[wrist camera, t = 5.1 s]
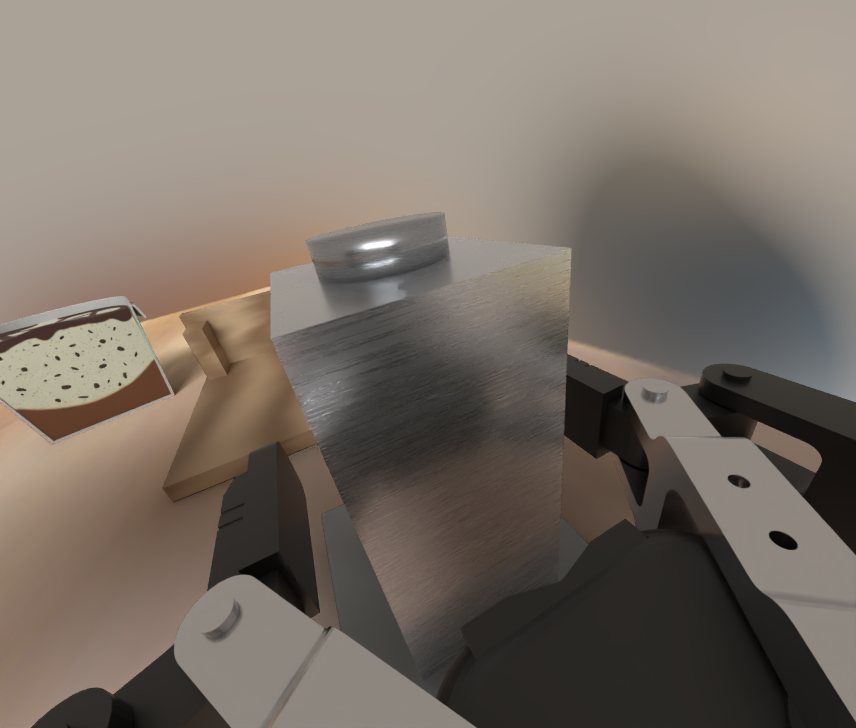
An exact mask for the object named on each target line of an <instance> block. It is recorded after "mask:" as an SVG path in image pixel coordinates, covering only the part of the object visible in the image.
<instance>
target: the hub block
mask: <svg viewBox="0 0 856 728" xmlns="http://www.w3.org/2000/svg"><path fill="white" fill-rule="evenodd" d="M306 244H307V246H308V249H309V252H310V255H311V258H312V261H313V263H309V264H305V265H301V266H297V267H293V268H288V269H284V270H280V271H276V272H272V273H271V274H270V275H271V341H272V343H273V345H274V347H275V350H276V352H277V354H278V356H279V359H280V361H281V363H282V365H283V368H284V370H285V372H286V374H287V376H288V379H289V381H290V383H291V385H292V388H293V390H294V392H295V394H296V397H297V399H298V401H299V403H300V406H301V408H302V410H303V412H304V415H305V417H306V419H307V421H308V424H309V426H310V428H311V430H312V432H313V435H314V437H315V439H316V441H317V444H318V446H319V448H320V450H321V453H322V455H323V457H324V459H325V462H326V464H327V466H328V468H329V471H330V473H331V475H332V477H333V480H334V482H335V484H336V486H337V489H338V491H339V493H340V495H341V497H342V500H343V502H344V504H345V506H346V509H347V511H348V513H349V515H350V518H351V520H352V522H353V524H354V527H355V529H356V531H357V533H358V536H359V538H360V540H361V542H362V545H363V547H364V549H365V551H366V553H367V556H368V558H369V560H370V562H371V565H372V567H373V569H374V571H375V574H376V576H377V578H378V580H379V583H380V585H381V587H382V589H383V592H384V594H385V596H386V598H387V601H388V603H389V605H390V607H391V610H392V612H393V614H394V616H395V618H396V621H397V623H398V625H399V627H400V630H401V632H402V634H403V636H404V639H405V641H406V643H407V645H408V648H409V650H410V652H411V654H412V657H413V659H414V661H415V663H416V666H417V668H418V670H419V672H420V674H421V677H422V679H423V680H425V679H426V678H428V677H429V676H431V675H432V674H434V673H435V672H436V671H438V670H439V669H441V668H442V667H444V666H445V665H447V664H448V663H450V662H451V661H452V660H454V659H455V657H456V656H457V654H458V653H459V652H460V651H461V649H462V648H463V647H464V645H465V643H464V639H463V635H462V632H461V628H460V627H462V626H463V625H465V624H466V623H468V622H469V621H471V620H472V619H474V618H475V617H477V616H478V615H480V614H481V613H483V612H484V611H486V610H487V609H489V608H491V607H492V606H494V605H495V604H497V603H498V602H500V601H501V600H503V599H504V598H506V597H508V596H511V595H515V594H518V593H522V592H525V591H529V590H532V589H536V588H539V587H543V586H547V585H550V584H554V583H557V582H558V571H559V546H560V520H561V495H562V470H563V445H564V420H565V395H566V370H567V345H568V319H569V318H568V317H569V294H570V268H571V248H565V247H554V246H543V245H534V244H523V243H513V242H502V241H493V240H482V239H472V238H462V237H451V236H447V229H446V222H445V214H444V213H443V212H433V213H424V214H416V215H410V216H403V217H397V218H392V219H386V220H381V221H376V222H372V223H366V224H362V225H357V226H353V227H349V228H345V229H340V230H336V231H332V232H329V233H325V234H322V235H318V236H315V237H312V238H310V239H308V240H306Z"/></svg>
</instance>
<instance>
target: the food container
mask: <svg viewBox="0 0 856 728" xmlns="http://www.w3.org/2000/svg"><path fill="white" fill-rule="evenodd" d="M137 316H143V317H144V318H146V315H145V314H144V313H143V312H142V311H141V310H140V309H139V308H138V307H137V306H136V305H135V304H134V303H133V302H129V301H128V299H127V298H126V297H124V296H121V297H120V296H119V297H111V298H105V299H99V300H95V301H89V302H85V303H81V304H76V305H72V306H67V307H64V308H59V309H56V310H51V311H48V312H44V313H40V314H36V315H33V316H29V317H25V318H21V319H18V320H14V321H11V322H8V323H4V324H1V325H0V403H1V404H2V405H3V406H5V407H6V408H7V409H8V410H10V411H11V412H12V413H13V414H15V415H16V416H17V417H18V418H20V419H21V420H22V421H23V422H25V423H26V424H27V425H28V426H30V427H31V428H32V429H33V430H35V431H36V432H37V433H38V434H40V435H41V436H42V437H43V438H45V439H46V440H47V441H48V442H50V443H51V444H52V445H53V444H56V443H58V442H60V441H63V440H65V439H68V438H70V437H73V436H75V435H78V434H80V433H83V432H85V431H88V430H90V429H93V428H95V427H98V426H100V425H103V424H105V423H108V422H110V421H113V420H115V419H117V418H120V417H122V416H125V415H127V414H130V413H132V412H135V411H137V410H140V409H142V408H145V407H147V406H150V405H152V404H155V403H157V402H160V401H162V400H165V399H167V398H170V397H172V396H175V394H174V392H173V390H172V388H171V386H170V384H169V382H168V380H167V378H166V375H165V373H164V371H163V369H162V367H161V365H160V363H159V361H158V359H157V357H156V355H155V353H154V351H153V349H152V347H151V345H150V343H149V341H148V339H147V337H146V334H145V332H144V330H143V328H142V326H141V324H140V322H139V320H138V319H137Z"/></svg>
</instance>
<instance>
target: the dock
mask: <svg viewBox="0 0 856 728" xmlns="http://www.w3.org/2000/svg"><path fill="white" fill-rule="evenodd" d="M179 317H180V319H181V321H182V322H183V324H184V326H185V328H186V330H185V331H184V332H183V336H184V338H185V340H186V341H187V343H188V345H189V346H190V348H191V350H192V352H193V353H194V355H195V357H196V358H197V360H198V362H199V363H200V365H201V367H202V369H203V370H204V372H205V374H206V375H207V378H206V381H205V383H204V386H203V388H202V391H201V393H200V396H199V398H198V401H197V403H196V406H195V408H194V411H193V413H192V416H191V418H190V421H189V423H188V426H187V428H186V431H185V433H184V436H183V438H182V441H181V443H180V446H179V448H178V451H177V453H176V456H175V458H174V461H173V463H172V466H171V468H170V471H169V473H168V476H167V478H166V481H165V483H164V486H163V490H164V491H165V492H166V493H167V494H168V496H169V497H170V498H171V499H172V500H173V502H174V501H177V500H179V499H182V498H184V497H187V496H189V495H192V494H194V493H196V492H199V491H201V490H204V489H206V488H209V487H211V486H214V485H216V484H219V483H221V482H223V481H226V480H228V479H231V478H233V477H236V476H238V475H241V474H243V473H246V472H247V470H248V459H249V453H250V452H252V451H254V450H257V449H259V448H262V447H264V446H267V445H270V444H272V443H275V442H277V441H278V442H280V444H281V445H282V447H283V449H284V450H285V452H286V454H287V455H290V454H292V453H295V452H297V451H300V450H302V449H304V448H307V447H309V446H312V445H314V444H317V441H316V439H315V437H314V435H313V432H312V430H311V428H310V426H309V424H308V421H307V419H306V417H305V415H304V412H303V410H302V408H301V406H300V403H299V401H298V399H297V397H296V394H295V392H294V390H293V388H292V385H291V383H290V381H289V379H288V376H287V374H286V372H285V370H284V368H283V365H282V363H281V361H280V359H279V356H278V354H277V352H276V350H275V347H274V345H273V343H272V341H271V291H267V292H263V293H259V294H256V295H252V296H248V297H244V298H240V299H236V300H232V301H229V302H225V303H221V304H217V305H213V306H209V307H205V308H202V309H198V310H194V311H190V312H186V313H182V314H181V315H180V316H179Z"/></svg>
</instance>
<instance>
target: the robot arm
mask: <svg viewBox="0 0 856 728" xmlns="http://www.w3.org/2000/svg"><path fill="white" fill-rule="evenodd" d="M758 421H759V422H761V423H763V424H766V425H768V426H770V427H772V428H775V429H777V430H779V431H781V432H784V433H786V434H788V435H791V436H793V437H795V438H797V439H800V440H802V441H804V442H806V443H808V444H810V445H811V446H813V447H814V448H815V449H816V450H817V451H818V452H819V453H820V455H821V457H822V463H821V465H820V467H819V469H818V471H817V472H816V473H814V472H812V471H810V470H808V469H806V468H804V467H802V466H800V465H798V464H796V463H794V462H792V461H790V460H787V459H785V458H783V457H781V456H779V455H777V454H775V453H773V452H771V451H769V450H767V449H765V448H763V447H761V446H759V445H757V444H755V443H753V442H752V441H750V439H751V437H752V434H753V432H754V429H755V427H756V425H757V422H758ZM564 435H565V436H566V437H568V438H569V439H570V440H572V441H573V442H574V443H576V444H577V445H578V446H580V447H581V448H582V449H584V450H585V451H587V452H588V453H589V454H591V455H592V456H593V457H595V458H596V459H597V458H599V457H601V456H603V455H604V454H606V453H608V452H610V451H611V452H613V453H614V454H615V458H614V463H615V466H616V469H617V472H618V474H619V477H620V480H621V482H622V485H623V488H624V491H625V493H626V496H627V499H628V501H629V504H630V507H631V509H632V512H633V515H634V519H635V524H636V527H635V526H633V525H632V524H631V523H630V522H629V521H628V520H626V519H624V520H623V521H621V522H620V523H618V524H617V525H615V526H614V527H612V528H611V529H609V530H608V531H606V532H605V533H603V534H602V535H600V536H599V537H597V538H596V539H594V540H592V541H591V542H590V543H589V544H588V546H587V547H586V549H585V550H584V551H583V553H582V554H581V555H580V557H579V558H578V559H577V561H576V562H575V563H574V565H573V566H572V567H571V569H570V570H569V572H568V573H567V574H566V576H565V577H564V578H563V579H562V580H561V581H559V582H557V583H554V584H550V585H547V586H543V587H539V588H536V589H532V590H529V591H525V592H522V593H518V594H515V595H511V596H508V597H506V598H504V599H503V600H501V601H500V602H498V603H497V604H495V605H494V606H492V607H491V608H489V609H487V610H486V611H484V612H483V613H481V614H480V615H478V616H477V617H475V618H474V619H472V620H471V621H469V622H468V623H466V624H465V625H463V626H462V627H460V628H461V632H462V635H463V639H464V643H465V645H464V647H463V648H462V649H461V651H460V652H459V653H458V654H457V656H456V657H455V659H454V660H453V662H452V664H451V665H450V667H449V669H448V670H447V672H446V674H445V676H444V679H443V681H442V683H441V685H440V687H439V690H438V693H437V696H436V698H434V697H433V696H431V695H430V694H429V693H427V692H426V691H424V690H423V689H422V688H420V687H419V686H417V685H416V684H415V683H413V682H412V681H410V680H409V679H408V678H406V677H405V676H403V675H402V674H400V673H399V672H398V671H396V670H395V669H393V668H392V667H391V666H389V665H388V664H386V663H385V662H384V661H382V660H381V659H379V658H378V657H377V656H375V655H374V654H372V653H371V652H370V651H368V650H367V649H365V648H364V647H363V646H361V645H360V644H358V643H357V642H356V641H354V640H353V639H351V638H350V637H349V636H347V635H346V634H344V633H343V632H341V631H339V630H338V629H336V628H334V627H328V629H325V628H323V627H322V626H320V625H319V624H317V623H316V622H315V621H313V620H312V619H311V617H313V616H315V615H317V614H318V613H320V609H319V601H318V593H317V585H316V577H315V569H314V561H313V553H312V545H311V537H310V529H309V521H308V513H307V505H306V498H305V493H304V490H303V487H302V484H301V482H300V479H299V477H298V476H297V474H296V472H295V470H294V468H293V466H292V464H291V462H290V460H289V458H288V456H287V454H286V452H285V450H284V449H283V447H282V445H281V444H280V442H278V441H277V442H275V443H272V444H270V445H267V446H264V447H262V448H259V449H257V450H254V451H252V452H250V453H249V459H248V470H247V473H246V474H244V475H241V476H239V477H236V478H234V480H233V481H232V483H231V485H230V486H229V488H228V490H227V491H226V493H225V494H224V496H223V502H222V508H221V516H220V520H219V525H218V528H219V531H217V537H216V543H215V549H214V555H213V561H212V566H211V572H210V578H209V584H208V590H207V592H206V593H205V594H204V595H203V596H202V597H201V598H200V599H199V600H198V601H197V602H196V603H195V604H194V606H193V607H192V608H191V610H190V611H189V612H188V614H187V615H186V617H185V618H184V620H183V622H182V624H181V626H180V628H179V630H178V633H177V636H176V639H175V643H174V644H173V645H172V646H171V647H170V648H169V649H168V650H167V651H166V652H165V653H164V654H162V655H161V656H160V657H159V658H158V659H156V660H155V661H154V662H153V663H151V664H150V665H149V666H148V667H146V668H145V669H144V670H143V671H142V672H140V673H139V674H138V675H137V676H135V677H134V678H133V679H132V680H130V681H129V682H128V683H127V684H126V685H124V686H123V687H122V688H121V689H119V690H118V691H117V692H116V693H114V694H111V693H109V692H107V691H106V690H104V689H102V688H89V689H86V690H83V691H80V692H78V693H76V694H74V695H72V696H70V697H69V698H67V699H65V700H64V701H62V702H61V703H59V704H58V705H57V706H55V707H54V708H53V709H51V710H50V711H49V712H48V713H46V714H45V715H44V716H43V717H42V718H41V719H39V720H38V721H37V722H36V723H35V724H34V725H33V726H32V727H31V728H856V402H853V401H850V400H847V399H844V398H841V397H837V396H835V395H831V394H829V393H825V392H822V391H819V390H816V389H813V388H810V387H807V386H804V385H801V384H798V383H795V382H792V381H789V380H786V379H783V378H780V377H777V376H774V375H771V374H768V373H765V372H762V371H759V370H756V369H752V368H750V367H746V366H741V365H733V364H715V365H711V366H708V367H706V368H705V369H704V370H703V372H702V376H701V380H700V383H699V384H693V385H688V386H682V387H679V386H677V385H675V384H673V383H671V382H668V381H665V380H660V379H654V378H641V379H635V380H632V381H630V382H628V381H626V380H623V379H621V378H619V377H617V376H615V375H612V374H610V373H608V372H606V371H604V370H601V369H599V368H597V367H595V366H593V365H591V366H590V365H589V364H588V363H586V362H584V361H582V360H580V361H579V360H578V359H577V358H575V357H573V356H571V355H568V354H567V370H566V395H565V420H564Z"/></svg>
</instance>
